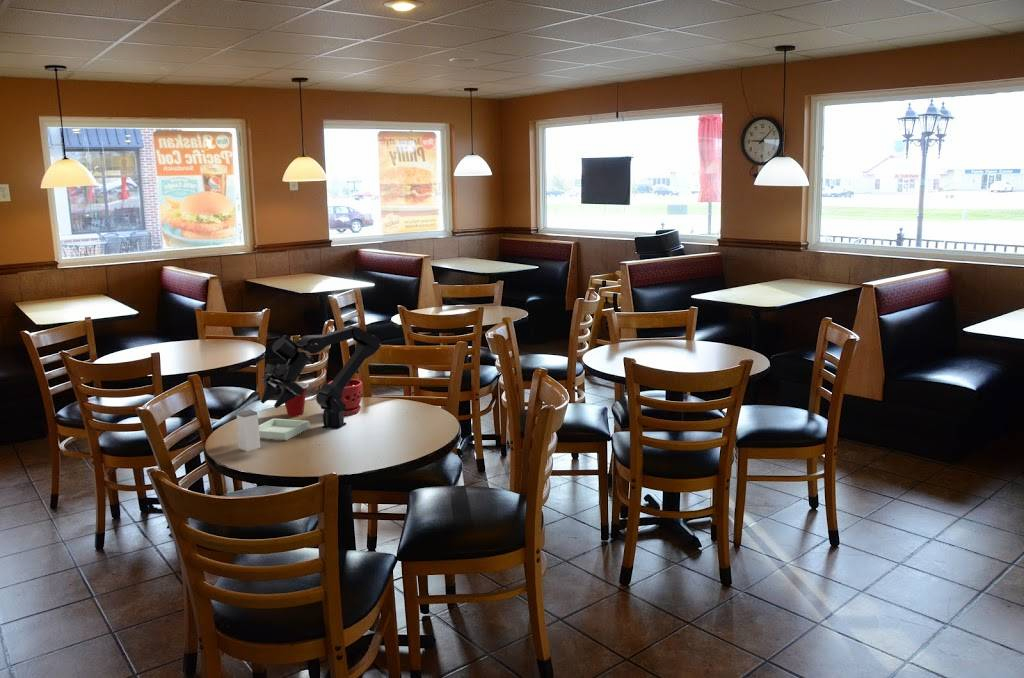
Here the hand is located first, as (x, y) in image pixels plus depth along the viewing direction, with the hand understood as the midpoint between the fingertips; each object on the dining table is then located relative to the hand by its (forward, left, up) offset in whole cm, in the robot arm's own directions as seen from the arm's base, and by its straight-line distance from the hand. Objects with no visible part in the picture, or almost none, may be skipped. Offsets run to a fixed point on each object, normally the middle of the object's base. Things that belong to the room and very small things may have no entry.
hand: (268, 405), depth 283 cm
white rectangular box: (+3, +7, -13) cm, 16 cm away
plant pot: (-7, -40, -13) cm, 43 cm away
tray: (+3, -10, -13) cm, 17 cm away
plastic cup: (+11, -33, -13) cm, 38 cm away
